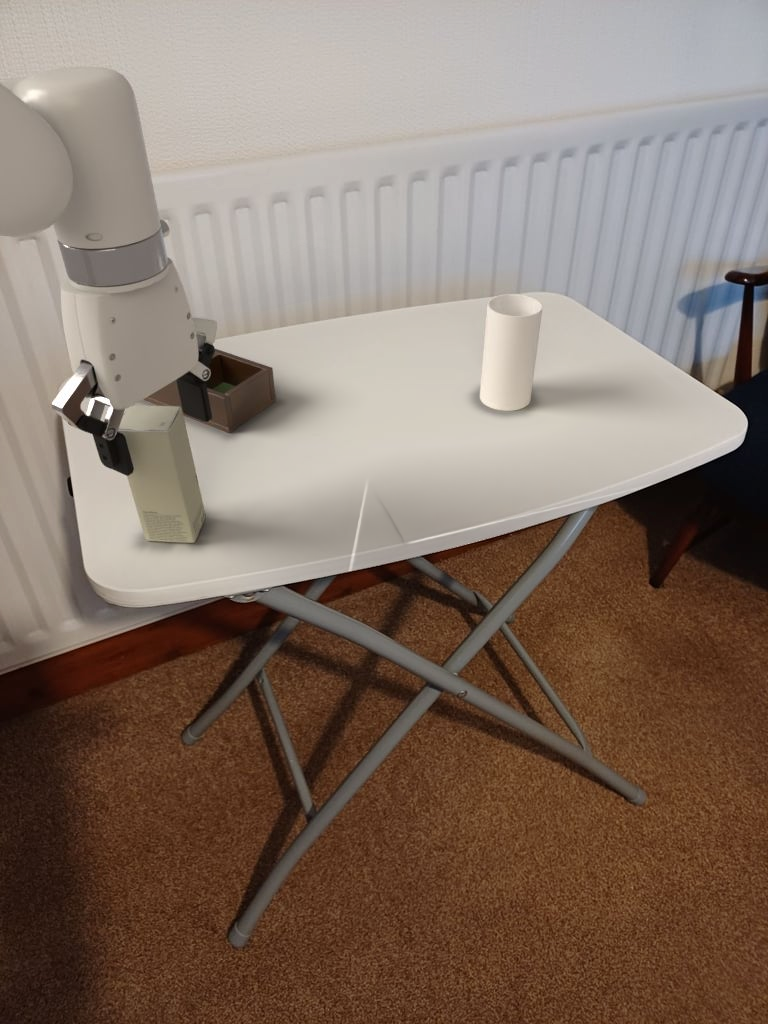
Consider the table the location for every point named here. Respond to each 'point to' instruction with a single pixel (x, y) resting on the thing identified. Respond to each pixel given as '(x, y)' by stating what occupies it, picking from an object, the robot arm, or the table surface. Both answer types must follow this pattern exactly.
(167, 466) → the box
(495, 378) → the cup
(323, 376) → the table surface
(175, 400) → the divided tray
